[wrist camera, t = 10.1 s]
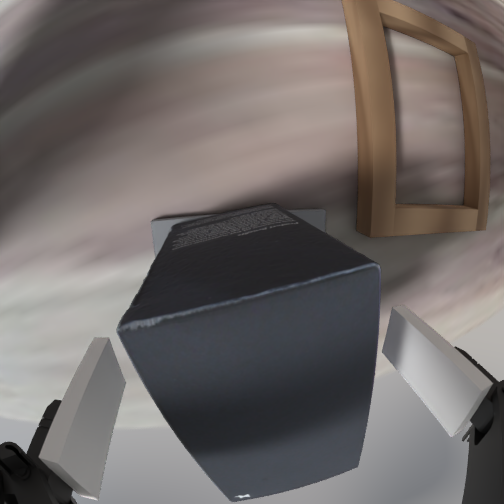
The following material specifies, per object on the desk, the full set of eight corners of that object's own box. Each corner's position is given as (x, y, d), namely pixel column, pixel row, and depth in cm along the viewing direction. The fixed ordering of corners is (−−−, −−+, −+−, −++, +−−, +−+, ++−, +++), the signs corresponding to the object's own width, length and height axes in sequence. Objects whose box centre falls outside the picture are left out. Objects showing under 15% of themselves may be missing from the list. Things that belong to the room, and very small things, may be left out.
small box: (303, 348, 19) (365, 470, 9) (214, 370, 18) (226, 505, 8) (281, 198, 15) (398, 260, 5) (166, 224, 15) (98, 332, 5)
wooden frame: (356, 230, 17) (370, 237, 16) (341, -3, 12) (352, -14, 10) (471, 225, 19) (485, 230, 17) (462, 46, 14) (475, 43, 12)
